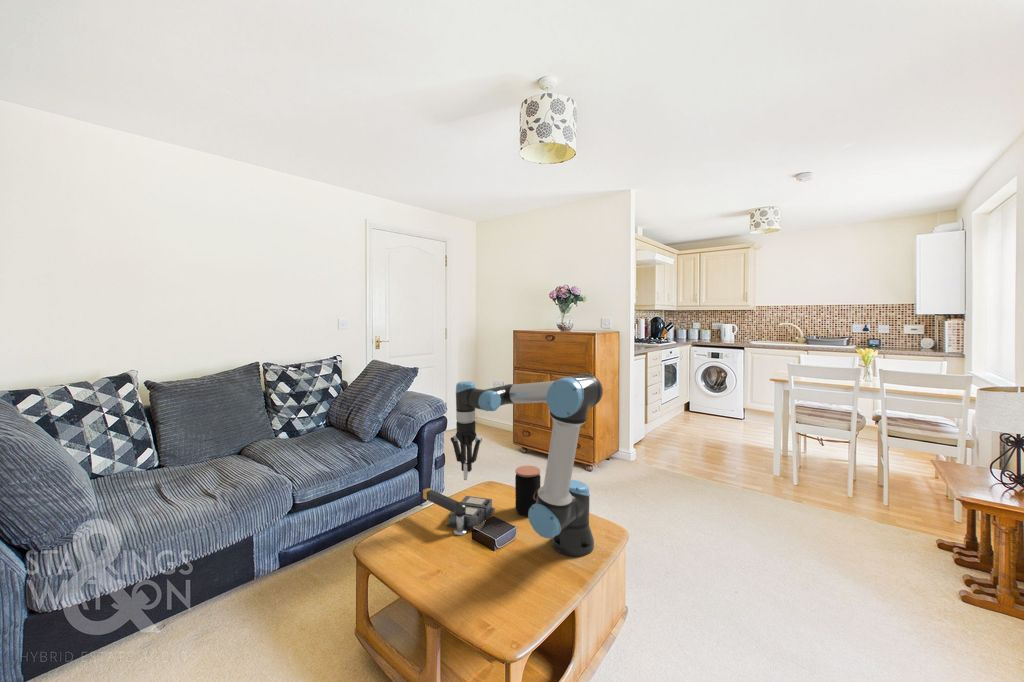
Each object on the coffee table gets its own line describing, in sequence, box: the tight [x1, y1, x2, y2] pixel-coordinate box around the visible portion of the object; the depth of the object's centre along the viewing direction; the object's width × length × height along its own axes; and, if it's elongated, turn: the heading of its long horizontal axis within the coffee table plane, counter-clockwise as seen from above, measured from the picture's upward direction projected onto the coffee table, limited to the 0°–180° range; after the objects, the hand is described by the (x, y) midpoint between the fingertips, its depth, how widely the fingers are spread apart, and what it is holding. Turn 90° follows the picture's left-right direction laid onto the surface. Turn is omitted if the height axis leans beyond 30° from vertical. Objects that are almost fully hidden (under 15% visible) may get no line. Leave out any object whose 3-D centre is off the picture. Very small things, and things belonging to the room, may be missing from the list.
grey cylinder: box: [453, 515, 468, 537], centre depth 158 cm, size 5×5×7 cm
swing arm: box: [422, 487, 466, 516], centre depth 164 cm, size 24×4×4 cm, turn 49°
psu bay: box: [446, 495, 496, 531], centre depth 169 cm, size 14×18×6 cm
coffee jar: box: [514, 465, 541, 517], centre depth 174 cm, size 11×11×18 cm
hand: (466, 478), depth 164 cm, fingers closed
